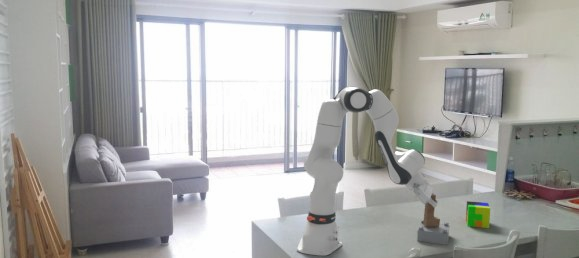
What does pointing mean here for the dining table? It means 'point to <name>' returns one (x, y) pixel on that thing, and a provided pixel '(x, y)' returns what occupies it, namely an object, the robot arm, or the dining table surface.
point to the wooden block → (430, 215)
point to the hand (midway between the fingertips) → (436, 204)
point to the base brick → (433, 233)
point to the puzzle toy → (478, 214)
